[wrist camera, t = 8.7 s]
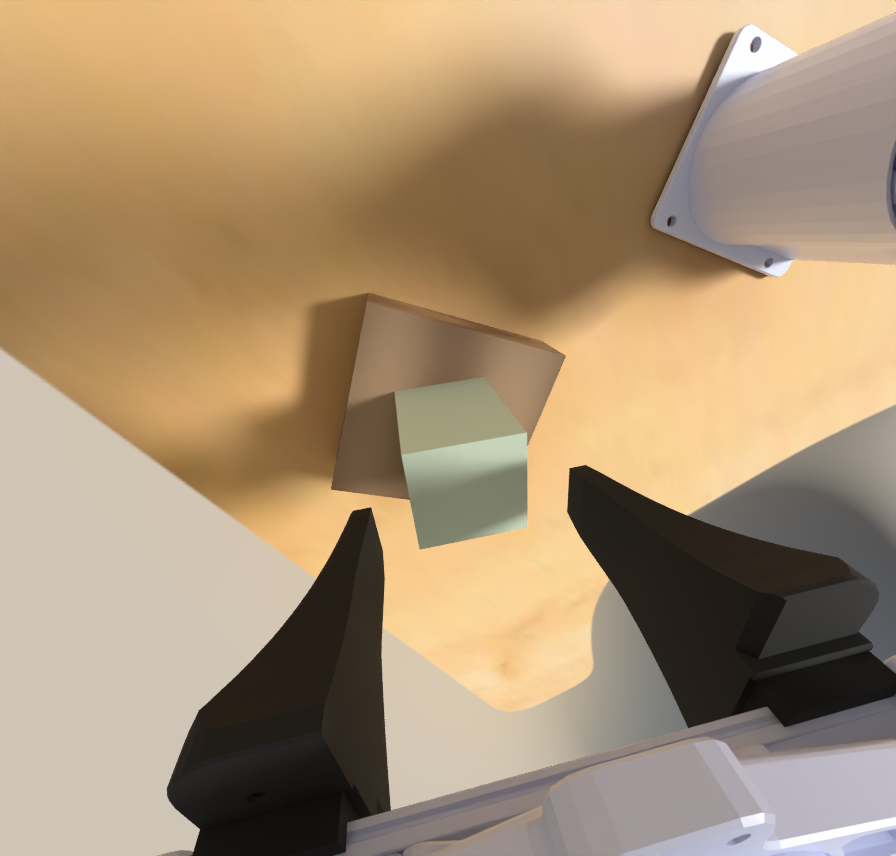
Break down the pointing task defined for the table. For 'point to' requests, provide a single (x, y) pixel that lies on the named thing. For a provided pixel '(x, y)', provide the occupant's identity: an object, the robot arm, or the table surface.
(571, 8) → the table surface
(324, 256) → the table surface
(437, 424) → the sage block
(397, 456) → the walnut base
